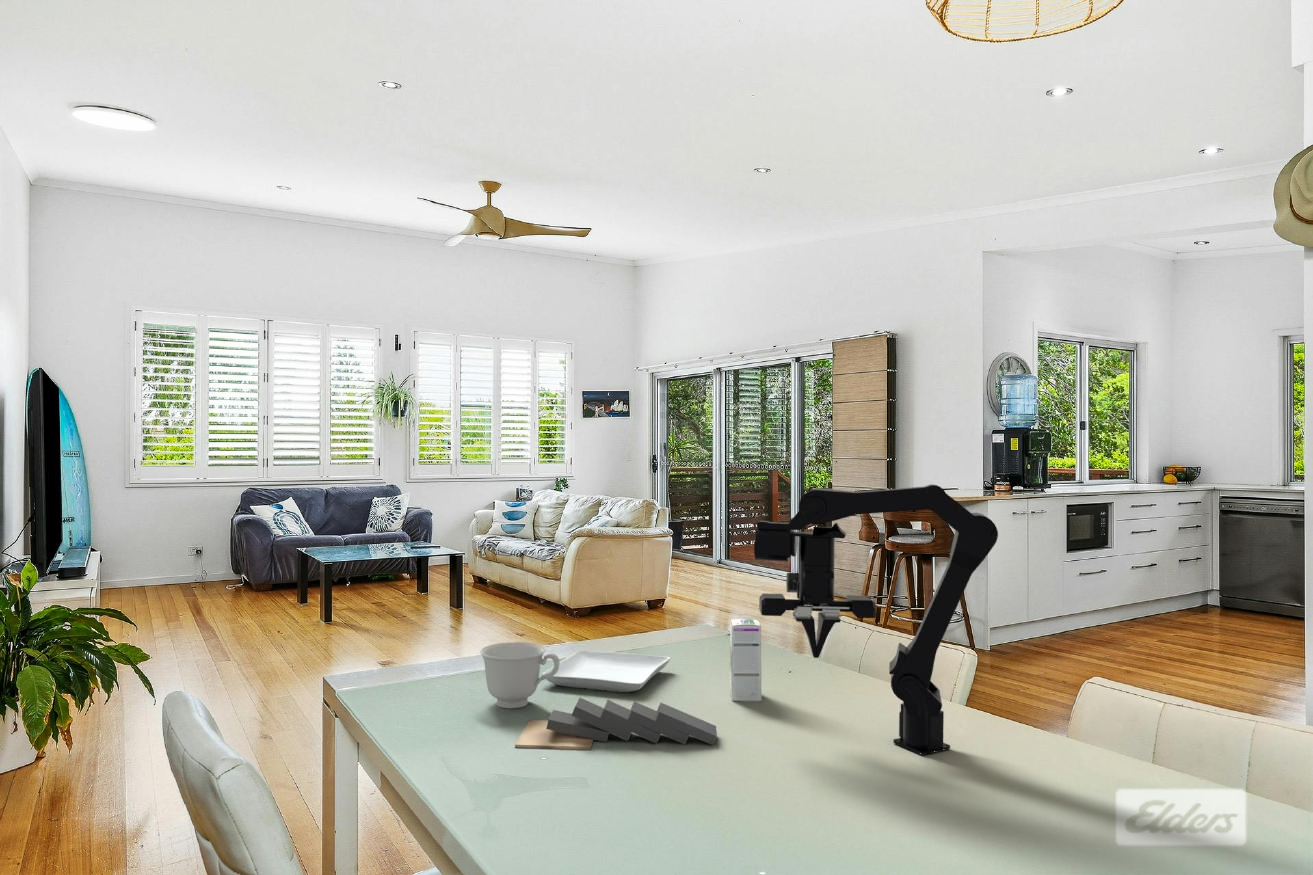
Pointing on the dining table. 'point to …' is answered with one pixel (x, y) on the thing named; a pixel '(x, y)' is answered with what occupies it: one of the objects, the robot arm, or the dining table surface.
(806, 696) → the dining table surface
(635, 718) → the domino
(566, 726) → the domino
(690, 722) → the domino
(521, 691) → the teacup
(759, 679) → the syrup box
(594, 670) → the salad plate
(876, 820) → the dining table surface
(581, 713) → the domino
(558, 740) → the cork mat
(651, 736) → the domino
